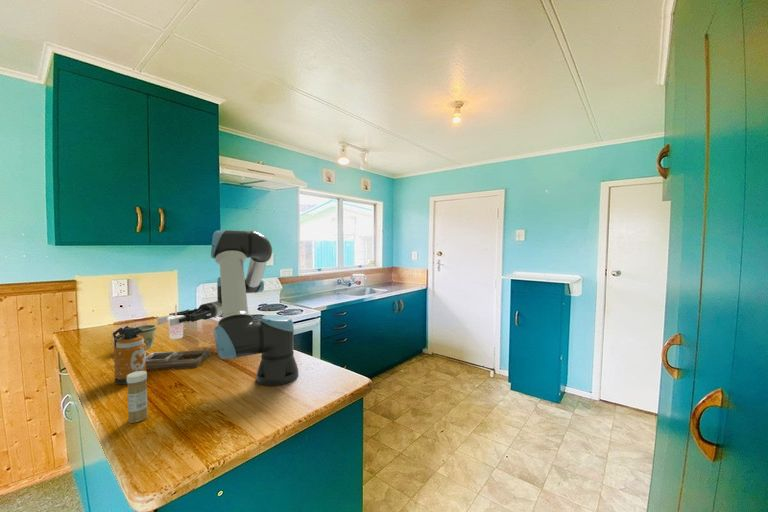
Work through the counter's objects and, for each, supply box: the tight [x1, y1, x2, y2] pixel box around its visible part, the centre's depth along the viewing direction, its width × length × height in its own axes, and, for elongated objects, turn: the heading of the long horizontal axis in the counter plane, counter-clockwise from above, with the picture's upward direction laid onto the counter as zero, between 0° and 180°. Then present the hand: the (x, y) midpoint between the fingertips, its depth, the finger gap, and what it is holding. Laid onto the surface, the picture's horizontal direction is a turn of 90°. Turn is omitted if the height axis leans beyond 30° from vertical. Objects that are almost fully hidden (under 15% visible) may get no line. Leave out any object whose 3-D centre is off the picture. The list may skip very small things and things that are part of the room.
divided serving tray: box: [146, 349, 212, 371], centre depth 131 cm, size 15×23×3 cm, turn 100°
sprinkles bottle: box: [126, 370, 149, 424], centre depth 88 cm, size 5×5×13 cm
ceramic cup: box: [132, 324, 157, 350], centre depth 150 cm, size 13×10×10 cm
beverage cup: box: [167, 304, 184, 340], centre depth 132 cm, size 6×6×14 cm
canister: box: [112, 325, 147, 385], centre depth 113 cm, size 9×11×20 cm
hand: (164, 321), depth 127 cm, fingers closed on beverage cup, 6 cm apart
